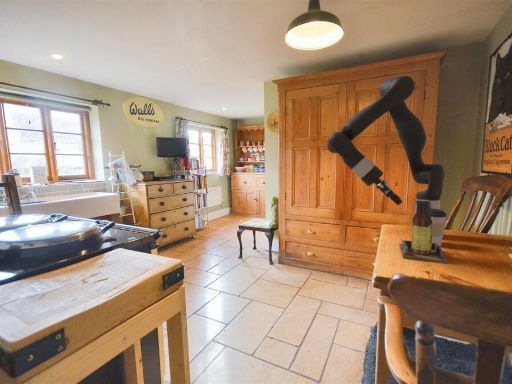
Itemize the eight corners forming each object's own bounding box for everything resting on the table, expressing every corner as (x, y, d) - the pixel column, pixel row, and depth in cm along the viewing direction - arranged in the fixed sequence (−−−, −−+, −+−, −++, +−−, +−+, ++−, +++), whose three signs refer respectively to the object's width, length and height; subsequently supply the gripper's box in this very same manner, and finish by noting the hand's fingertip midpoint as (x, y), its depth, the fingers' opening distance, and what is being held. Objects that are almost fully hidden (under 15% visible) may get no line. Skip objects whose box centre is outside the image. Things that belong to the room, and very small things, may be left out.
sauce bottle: (434, 256, 89) (438, 201, 87) (415, 255, 90) (418, 201, 88) (425, 249, 96) (429, 198, 93) (408, 249, 97) (410, 198, 94)
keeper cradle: (399, 246, 103) (400, 227, 102) (437, 250, 98) (438, 230, 97) (403, 258, 91) (404, 237, 90) (446, 263, 85) (448, 241, 84)
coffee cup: (418, 239, 111) (420, 206, 109) (443, 242, 106) (446, 208, 104) (418, 244, 104) (420, 209, 102) (445, 248, 99) (447, 211, 97)
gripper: (375, 165, 89) (410, 197, 86) (374, 164, 102) (405, 192, 99) (358, 179, 92) (392, 211, 89) (360, 177, 105) (389, 205, 102)
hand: (399, 201), depth 94 cm, fingers open, 8 cm apart
